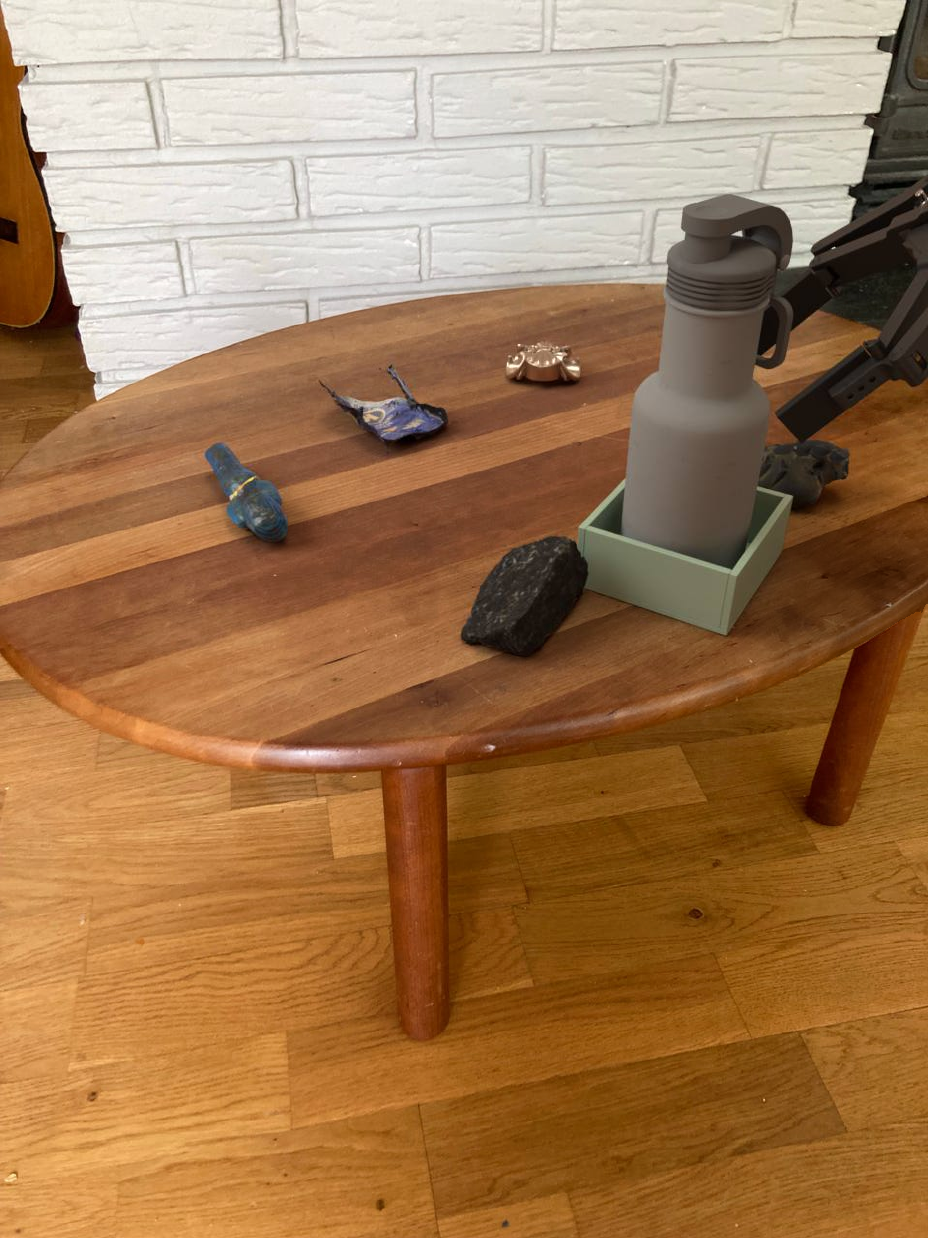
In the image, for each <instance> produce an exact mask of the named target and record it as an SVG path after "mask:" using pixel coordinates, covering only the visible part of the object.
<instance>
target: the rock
mask: <svg viewBox="0 0 928 1238" xmlns="http://www.w3.org/2000/svg"><path fill="white" fill-rule="evenodd" d="M587 569H588V563H587V562H586V560H585V558H584V557H581V552H580V551H579V550H578V548H577V542H576V540H575V539H573V538H571V537H569V536H566V535H562V536H558V535H549V536H546V537H543V538H542V539H539V540H536V541H533V542H529V543H525V544H522V545H519V546H518V547H513V548H511V550H510V551H509V552H507V553H506V554H504V555H503V556H502V557H501V558H500V560H499V561H498V562H497V563H496V564H495V565H494V567H492V569H491V571H490V572H489V573H488V575H487V576H486V578H485V580H483V582H482V584H481V585H480V587H479V591H478V593H477V595H476V596H475V597H476V598H475V599H474V601H473V605H472V607H471V609H470V614H469V616H468V617H467V619H466V621H465V623H464V625H463V626H462V628H461V632H460V639H461V640H462V641H463V642H464V643H465V644H468V645H474V644H476V643H481V644H482V645H483V646H484V647H489V648H494V649H497V650H499V651H502V652H507V653H510V654H514V655H516V656H523V657H526V656H528V655H530V654H531V653H533V652H534V651H535V650H537V649H538V648H539V647H540V646H542V645H543V644H544V643H545V640H546V637H547V636H549V635H550V634H551V633H552V632H553V631H554V630H555V628H556V627H557V626H558V625H559V624H560V622H561V621H562V620H563V618H564V616H565V615H567V614H569V613H570V612H571V611H572V609H573V607H574V604H575V602H576V600H577V599H579V598H580V597H581V596H582V595H583V594H584V589H585V588H584V586H585V584H586V581H587V577H588V575H589V573H588V570H587Z"/></svg>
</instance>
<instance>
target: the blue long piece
mask: <svg viewBox="0 0 928 1238" xmlns="http://www.w3.org/2000/svg"><path fill="white" fill-rule="evenodd" d="M204 457H205V459H206V461H207V462H208V464H209V466H210V467H211V469H212V471H213V473H214V474H215V476H216V478H217V480H218V482H219V485H220V487H221V489H222V491H223V492H224V494H225V496H226V498H227V499H228V500H229V504H228V505H227V507H226V508H225V512H226V515H227V517H228V518H229V519H230V521H231V522H232V523H233V524H235V526H237V527H239V528H241V529H242V530H250V531H251V532H253V534H255V535H256V536H257V537H259V538H260V539H261V540H263V541H265V542H268V543H277V542H279V541H281V540H283V539H284V538H285V537H286V536H287V533H288V531H289V521H288V517H287V515H286V513H285V511H284V509H283V508H282V505H283V499H282V496H281V494H280V492H279V491H278V489H277V487H276V486H275V484H274V483H272V481H269V480H266V479H265V480H263V479H261V478H260V477H259V475H258V474H257V473H256V472H254V471H253V470H251V469H249V468H248V467H246V466H245V465H244V464H242V462H240V460H239V459H238V457H237V456H236V455H235V453H234V452H233V450H232V449H231V448H229V446H228V445H227V444H226V443H224V442H223V441H222V442H216V443H214V444H212V445H211V446H210V447H208V448H207V449H206V451H205V452H204Z"/></svg>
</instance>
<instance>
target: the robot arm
mask: <svg viewBox="0 0 928 1238" xmlns="http://www.w3.org/2000/svg"><path fill="white" fill-rule="evenodd" d="M810 252H811V254H812V255H813V258H812V259H811V260H810V261H809V262H808V263H809V264H808V267H809V268H807V269H806V270H805V271H804V272H802V273H801V274H800V275H799V276H798V277H797V278H796V279H794V280H793V281H791V283H789V285H787V286H786V287H785V288H784V289H782V290H781V291H780V292H779V293H777V294H776V295H777V296H780V297H782V298H784V299H786V300H787V301H788V302H789V304H790V305H791V307H792V310H793V321H792V326H791V332H793V331H794V330H795V329H796V328H798V327H799V326H800V325H801V324H802V323H804V322H805V321H806V320H808V318H810V317H811V316H812V315H813V314H815V313H816V312H817V311H819V310H820V309H821V308H822V307H823V306H825V305H826V303H828V302H829V301H831V300H832V299H833V297H834V298H835V297H839V294H840V293H841V290H842V288H843V286H845V285H847V284H850V283H853V282H856V281H860V280H862V279H864V278H867V277H870V276H872V275H875V274H878V273H881V272H883V271H886V270H889V269H893V268H895V267H897V266H900V265H903V264H907V265H909V266H916V270H917V272H916V274H915V276H914V278H913V280H912V281H911V283H910V284H909V286H908V288H907V289H906V291H905V292H904V294H903V295H902V298H901V299H900V300H899V302H898V304H897V305H896V307H895V308H894V311H893V312H892V314H891V315H890V317H889V318H888V320H887V321H886V323H885V325H884V326H883V327H882V329H881V331H880V333H879V335H878V336H877V337H876V338H873V339H867V340H863V342H862V344H860V345H859V346H857V348H855V349H853V350H852V351H851V352H850V353H849V354H848V355H846V356H845V357H843V358H842V359H841V360H840V361H838V362H837V363H836V364H834V365H833V366H832V367H831V368H829V369H828V370H827V371H825V372H824V373H823V374H821V375H820V376H819V377H818V378H817V379H815V380H814V381H813V382H811V383H810V384H809V385H807V386H806V387H805V388H804V389H802V390H801V391H800V392H799V393H797V394H796V395H795V396H794V397H792V398H791V399H790V400H788V401H787V402H786V403H784V404H783V405H782V406H781V407H779V408H778V409H776V410H775V411H774V414H775V416H776V418H777V419H778V420H779V422H781V423H782V425H783V426H784V427H785V428H786V429H787V430H788V431H789V432H790V433H791V434H792V435H793V437H794V438H795V439H796V440H797V441H799V442H800V443H801V444H802V443H803V442H804V441H806V440H809V439H810V438H811V437H813V436H814V435H815V434H817V432H819V431H820V430H822V429H823V428H824V427H826V426H827V425H828V424H830V423H832V421H834V420H836V418H838V417H839V416H840V415H842V414H843V413H844V412H846V411H848V410H849V409H852V408H853V407H854V406H857V404H859V403H860V402H861V401H863V400H864V399H866V397H868V396H869V395H871V394H872V393H873V392H874V391H876V390H877V389H878V388H880V387H881V386H883V385H884V384H885V383H887V382H888V381H892V382H896V381H900V380H901V381H903V382H906V384H907V385H908V386H909V387H910V388H916V387H918V386H921V385H922V384H923V383H924V382H925V381H926V380H927V379H928V174H926V175H924V176H923V177H922V178H920V179H919V180H918V181H917V182H915V183H914V184H913V185H911V187H909V188H908V189H907V190H905V191H903V192H902V193H900V194H898V195H896V196H895V197H893V198H891V199H889V200H888V201H886V202H884V203H883V204H880V205H879V206H877V207H875V208H874V209H872V210H870V211H868V212H867V213H864V214H863V215H862V216H860V217H857V218H856V219H854V220H853V221H851V222H849V223H847V224H846V225H844V226H842V227H840V228H838V229H837V230H835V231H834V232H831V233H829V234H827V235H826V236H824V237H823V238H821V239H819V240H818V241H816V242H815V243H813V244H812V246H811V247H810ZM779 323H780V321H779V316H778V313H777V311H776V310H775V308H773V307H772V306H771V305H769V304H768V305H767V306H766V307H765V308H764V313H763V319H762V325H761V331H760V337H759V343H758V349H757V354H758V355H760V356H763V355H765V354H766V352H768V351H769V350H770V349H771V348H773V347H774V346H776V341H777V336H778V330H779ZM918 356H919V357H920V358H919V359H917V358H918Z"/></svg>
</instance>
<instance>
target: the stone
mask: <svg viewBox="0 0 928 1238" xmlns="http://www.w3.org/2000/svg"><path fill="white" fill-rule="evenodd" d="M850 456H851V453H850V451H849V450H848V449H847V448H842V447H839V446H837V445H836V444H834V443H832V442H829V441H823V440H820V439H807V440H806V441H804V442H803V443H802V444H801V443H800V442H799V441H798V440H796V441H795V442H790V443H785V444H780V443H775V444H772V445H771V444H769V445H765V447H764V452H763V458H762V463H761V469H760V474H759V480H758V485H757V486H758V487H762V488H765V489H769V490H773V491H776V492H780V493H784V494H788V495H791V496H793V500H792V505H791V509H797V508H805V507H809V506H811V505H813V504H815V503H816V502H817V501H818V499H819V498H820V496H821V495H822V492H823V489H824V488H825V487H827V485H829V484H831V483H833V482H835V481H839V480H842V481H844V480H847V479H848V476H849V474H850V473H849V469H850V467H849V466H850Z"/></svg>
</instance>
